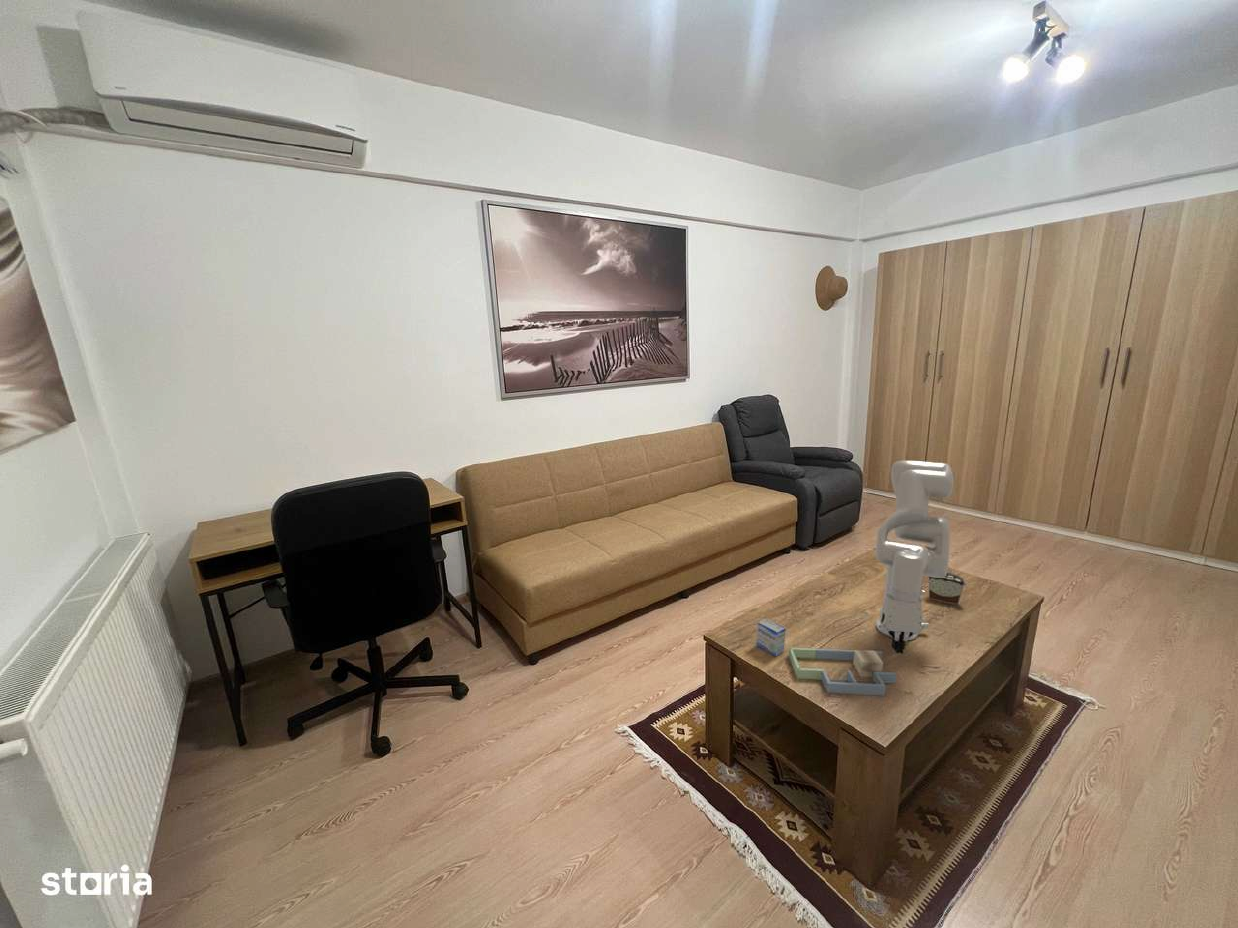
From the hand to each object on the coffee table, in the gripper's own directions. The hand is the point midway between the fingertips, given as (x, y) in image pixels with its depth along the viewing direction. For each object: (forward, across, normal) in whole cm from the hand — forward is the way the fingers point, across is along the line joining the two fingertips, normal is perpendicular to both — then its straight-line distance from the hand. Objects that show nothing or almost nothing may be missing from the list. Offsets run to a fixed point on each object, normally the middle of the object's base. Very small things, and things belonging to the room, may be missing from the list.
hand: (897, 650), depth 146 cm
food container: (+6, -38, -48) cm, 61 cm away
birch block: (+8, +8, -1) cm, 11 cm away
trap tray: (+8, +15, +2) cm, 17 cm away
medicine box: (+8, +34, -10) cm, 37 cm away
